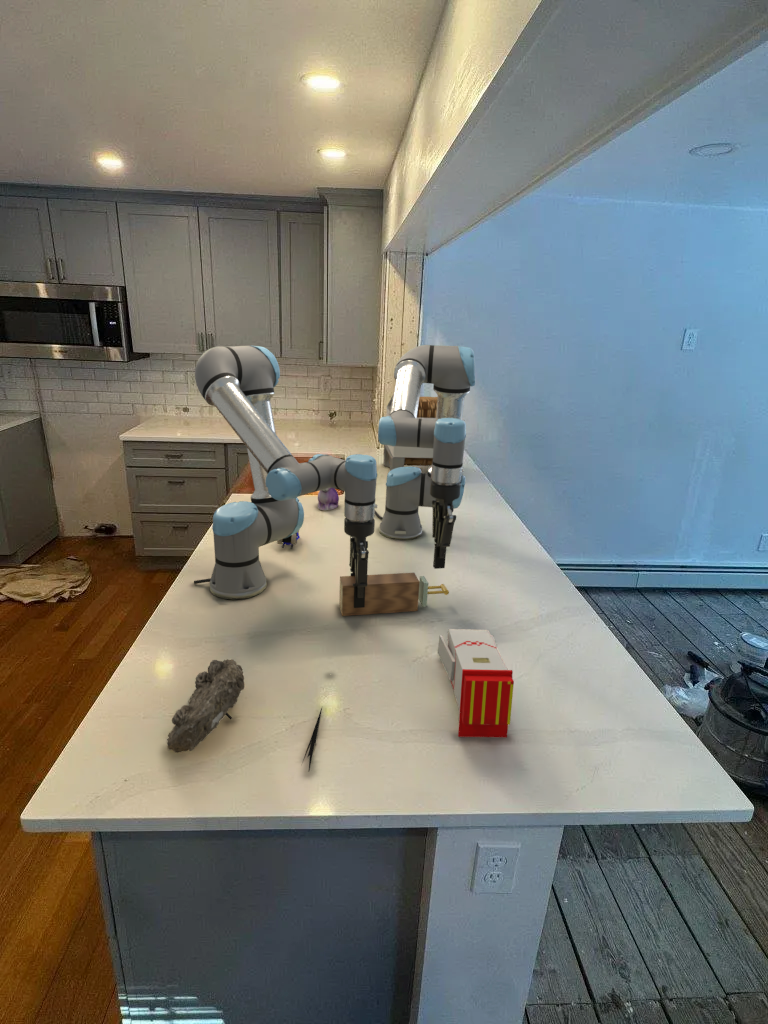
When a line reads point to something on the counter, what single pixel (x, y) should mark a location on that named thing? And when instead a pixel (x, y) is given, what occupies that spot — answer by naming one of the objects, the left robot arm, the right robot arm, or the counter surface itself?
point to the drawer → (424, 591)
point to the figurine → (328, 499)
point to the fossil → (206, 705)
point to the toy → (478, 682)
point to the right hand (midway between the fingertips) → (438, 567)
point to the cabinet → (381, 594)
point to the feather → (313, 740)
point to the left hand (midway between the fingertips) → (357, 600)
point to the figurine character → (289, 540)
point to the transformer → (412, 455)
